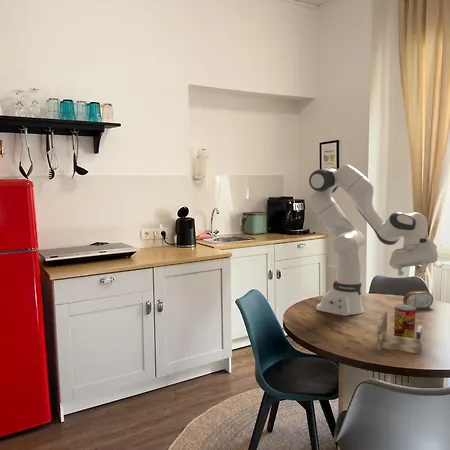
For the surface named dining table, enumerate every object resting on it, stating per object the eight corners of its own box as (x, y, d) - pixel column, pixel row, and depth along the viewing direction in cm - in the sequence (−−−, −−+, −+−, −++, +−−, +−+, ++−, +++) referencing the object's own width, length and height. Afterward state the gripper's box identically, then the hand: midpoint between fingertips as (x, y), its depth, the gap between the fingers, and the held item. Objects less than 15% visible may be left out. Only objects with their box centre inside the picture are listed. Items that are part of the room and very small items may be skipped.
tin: (429, 306, 219) (430, 289, 218) (433, 308, 216) (434, 291, 215) (402, 308, 216) (402, 291, 215) (406, 310, 213) (406, 293, 212)
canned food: (390, 332, 184) (391, 304, 182) (408, 331, 185) (409, 303, 183) (400, 339, 176) (400, 310, 175) (418, 338, 177) (419, 309, 175)
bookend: (415, 349, 165) (416, 331, 165) (417, 342, 172) (418, 325, 172) (419, 350, 165) (420, 332, 164) (421, 343, 172) (422, 325, 171)
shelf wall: (376, 349, 166) (377, 321, 165) (382, 337, 178) (383, 311, 177) (418, 356, 159) (419, 327, 158) (421, 343, 171) (422, 316, 170)
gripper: (388, 246, 198) (384, 273, 191) (432, 237, 182) (430, 266, 176) (396, 253, 201) (392, 280, 194) (440, 245, 185) (438, 274, 178)
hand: (410, 273), depth 185 cm, fingers open, 8 cm apart
